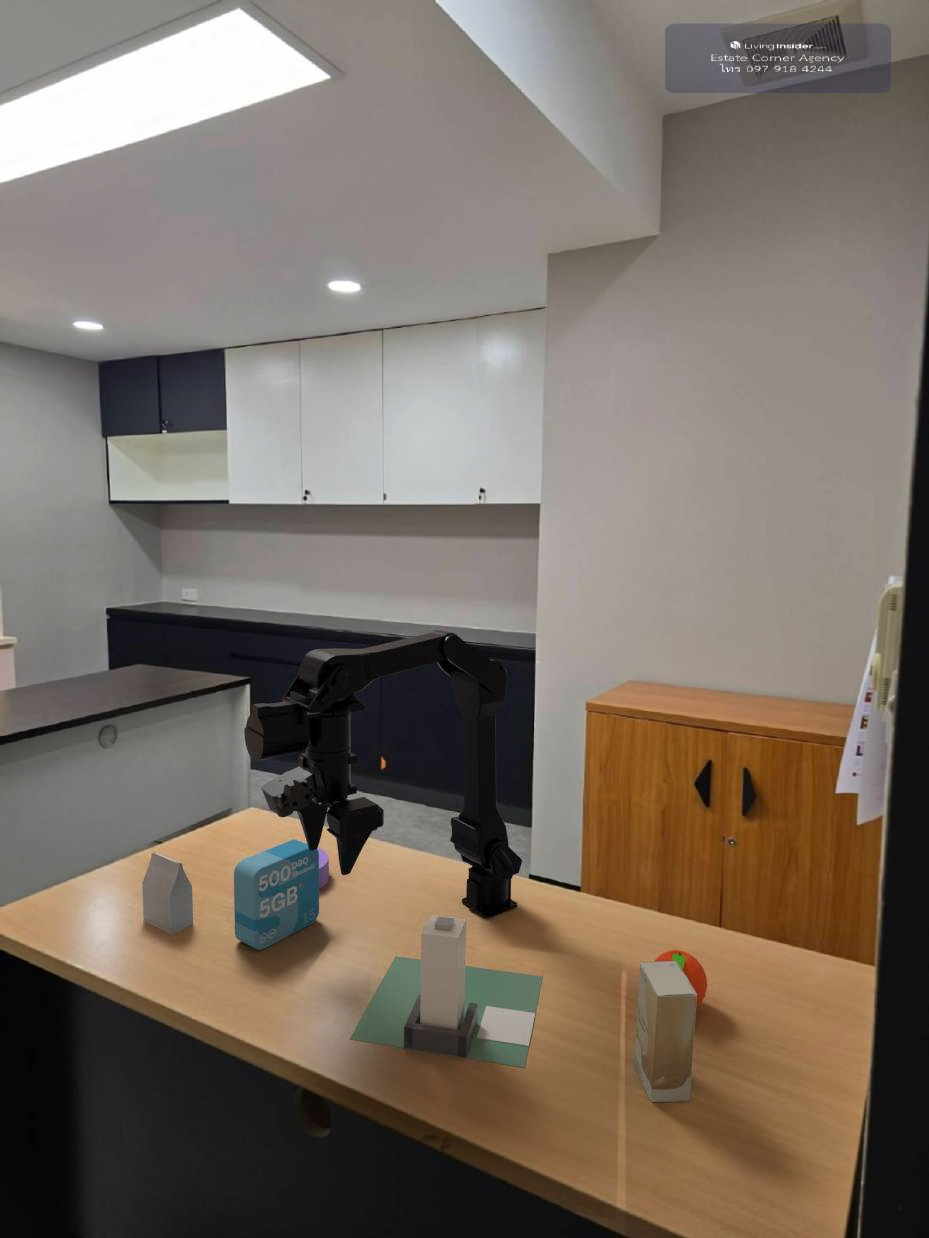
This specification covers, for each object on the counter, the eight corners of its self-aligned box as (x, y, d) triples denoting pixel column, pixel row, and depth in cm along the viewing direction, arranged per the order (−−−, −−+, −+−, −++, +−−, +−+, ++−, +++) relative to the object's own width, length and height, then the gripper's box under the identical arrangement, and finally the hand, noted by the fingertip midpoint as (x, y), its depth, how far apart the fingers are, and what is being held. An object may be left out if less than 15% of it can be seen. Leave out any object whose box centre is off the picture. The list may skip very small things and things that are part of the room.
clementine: (706, 1034, 91) (709, 978, 90) (645, 1022, 93) (648, 967, 92) (705, 995, 98) (708, 943, 97) (650, 985, 100) (652, 934, 99)
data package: (254, 954, 106) (253, 871, 104) (234, 943, 108) (232, 862, 107) (319, 920, 115) (319, 843, 114) (299, 910, 118) (299, 836, 117)
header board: (395, 962, 104) (395, 938, 104) (542, 983, 100) (543, 958, 100) (349, 1046, 87) (349, 1018, 87) (524, 1076, 83) (525, 1045, 83)
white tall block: (429, 1018, 91) (430, 909, 89) (464, 1024, 90) (466, 914, 88) (420, 1041, 87) (421, 928, 85) (456, 1047, 86) (458, 932, 84)
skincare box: (632, 1062, 86) (637, 959, 84) (670, 1060, 86) (676, 958, 84) (651, 1105, 79) (657, 994, 78) (692, 1103, 80) (698, 993, 78)
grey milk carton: (171, 934, 110) (169, 868, 109) (143, 920, 114) (141, 856, 113) (193, 924, 114) (191, 859, 112) (165, 910, 117) (163, 848, 116)
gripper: (241, 740, 102) (243, 852, 104) (302, 777, 88) (303, 907, 90) (317, 728, 109) (318, 833, 111) (386, 760, 94) (385, 881, 96)
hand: (328, 861), depth 102 cm, fingers open, 9 cm apart
